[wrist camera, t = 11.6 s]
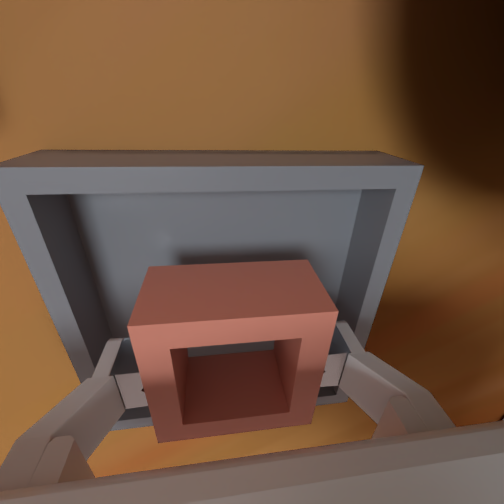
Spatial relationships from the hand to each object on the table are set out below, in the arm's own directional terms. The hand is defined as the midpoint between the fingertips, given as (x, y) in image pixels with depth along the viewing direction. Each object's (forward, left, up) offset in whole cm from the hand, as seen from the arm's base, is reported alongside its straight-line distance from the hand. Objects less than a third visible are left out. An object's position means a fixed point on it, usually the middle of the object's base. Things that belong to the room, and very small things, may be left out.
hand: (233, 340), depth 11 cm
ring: (0, 0, -1) cm, 1 cm away
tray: (0, 0, -4) cm, 4 cm away
